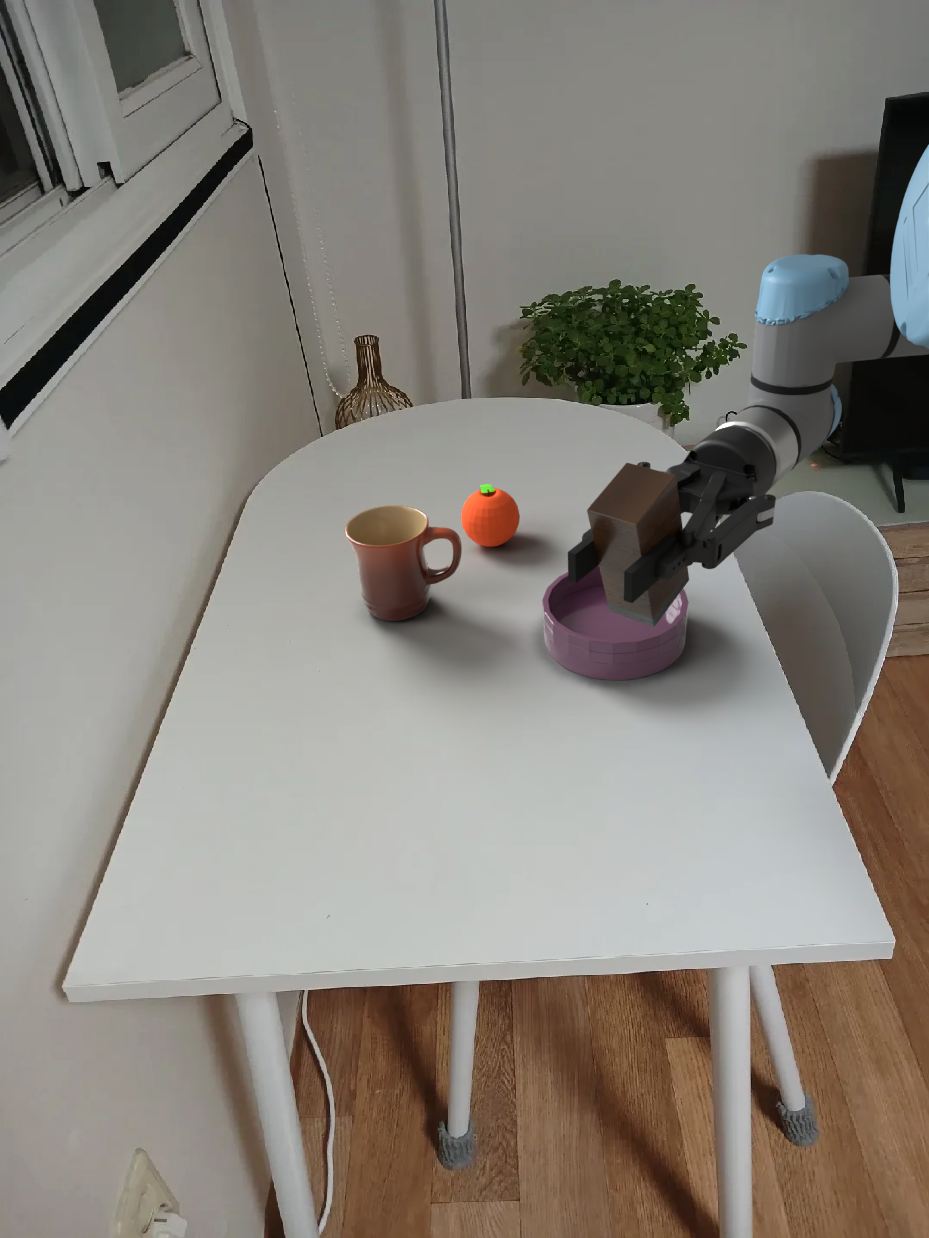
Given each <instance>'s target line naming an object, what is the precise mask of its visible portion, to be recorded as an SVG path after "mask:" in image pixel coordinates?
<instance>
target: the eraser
mask: <svg viewBox="0 0 929 1238" xmlns="http://www.w3.org/2000/svg"><path fill="white" fill-rule="evenodd" d="M661 471H662V470H657V469H653V468H651V467H650V468H646V467H642V466H638V465H637V464H634V463H630V462H626V463H624V465H623V466H622V467H621V469H619V471H618V472H617V473H616V475H615V476H614V477H613V478H612V479H611V480H610V482H609V483H608V484H607V485H606V486H605V487H604V489H602V491H601V493H600V494H599V495H598V496H597V497H596V499H595V500H594V501H593V502H592V503H591V504H590V506H589V507H588V508H587V509H586V513H587V518H588V521H589V522H588V523H589V526H590V529H591V531H592V535H593V540H594V544H595V549H596V553H597V558H598V562H599V567H600V571H601V576H602V580H603V585H604V589H605V594H606V598H607V602H608V607H609V611H611V612H614V613H616V614H619V615H622V616H624V617H627V618H630V619H633V620H635V621H638V622H641V623H643V624H646V625H649V626H652V627H655V626H656V624H657V623H658V622H659V620H660V619H661V618H662V616H663V615H664V614H665V612H666V611H667V610H668V608H669V607H670V605H671V604H672V603H673V601H674V600H675V599H676V597H677V596H678V595H679V593H680V592H681V591H682V589H684V588H685V586H686V585H687V584H688V583H689V581H690V574H689V566H684V567H683V568H682V569H681V570H680V571H679V572H677V573H676V574H675V575H674V576H673V577H672V578H670V579H668V580H664V579H661V578H660V579H659V580H658V581H657V582H656V583H655V584H653V585H652V586H651V587H650V588H649V589H648V590H647V591H646V592H644V593H643V594H642V595H641V596H640V597H639V598H638V599H636V600H635V601H634V602H633V603H630V602H627V601H624V571H625V570H626V569H627V568H628V567H630V566H631V565H632V564H633V563H634V562H636V561H637V560H638V559H639V558H640V557H642V556H643V555H644V554H645V553H646V552H648V551H649V550H650V549H651V548H652V547H654V546H655V545H656V544H657V543H658V542H660V541H661V540H662V539H663V538H664V537H666V536H667V535H668V534H669V535H672V536H675V537H676V543H677V542H678V541H679V531H680V527H681V529H682V530H683V528H684V527H683V520H682V519H683V518H682V514H681V511H680V503H679V495H678V488H677V480H676V475H673V474H669V473H665V472H666V471H665V472H661Z"/></svg>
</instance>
